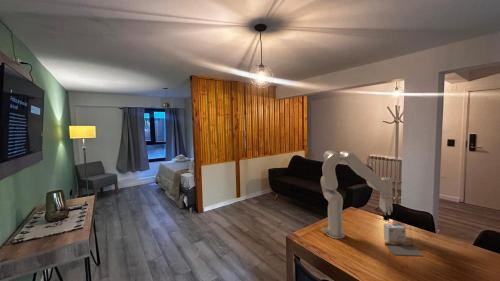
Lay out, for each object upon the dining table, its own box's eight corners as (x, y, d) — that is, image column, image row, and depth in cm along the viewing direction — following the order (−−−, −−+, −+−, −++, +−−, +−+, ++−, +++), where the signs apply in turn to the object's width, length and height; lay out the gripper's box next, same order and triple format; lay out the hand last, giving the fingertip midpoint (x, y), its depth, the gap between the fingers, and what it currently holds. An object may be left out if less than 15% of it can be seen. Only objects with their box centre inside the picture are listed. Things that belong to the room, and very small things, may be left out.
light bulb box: (399, 238, 145) (399, 222, 144) (406, 243, 138) (406, 227, 137) (383, 238, 146) (383, 222, 145) (388, 243, 139) (388, 227, 138)
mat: (393, 255, 127) (393, 254, 127) (386, 246, 136) (386, 245, 136) (423, 256, 124) (423, 255, 124) (413, 247, 134) (413, 246, 134)
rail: (385, 245, 137) (385, 243, 137) (384, 244, 138) (384, 242, 138) (413, 246, 134) (413, 244, 134) (412, 245, 136) (411, 243, 136)
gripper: (375, 191, 159) (376, 215, 160) (385, 198, 144) (385, 224, 146) (386, 191, 158) (386, 215, 159) (397, 198, 143) (397, 225, 144)
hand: (386, 220), depth 152 cm, fingers closed
